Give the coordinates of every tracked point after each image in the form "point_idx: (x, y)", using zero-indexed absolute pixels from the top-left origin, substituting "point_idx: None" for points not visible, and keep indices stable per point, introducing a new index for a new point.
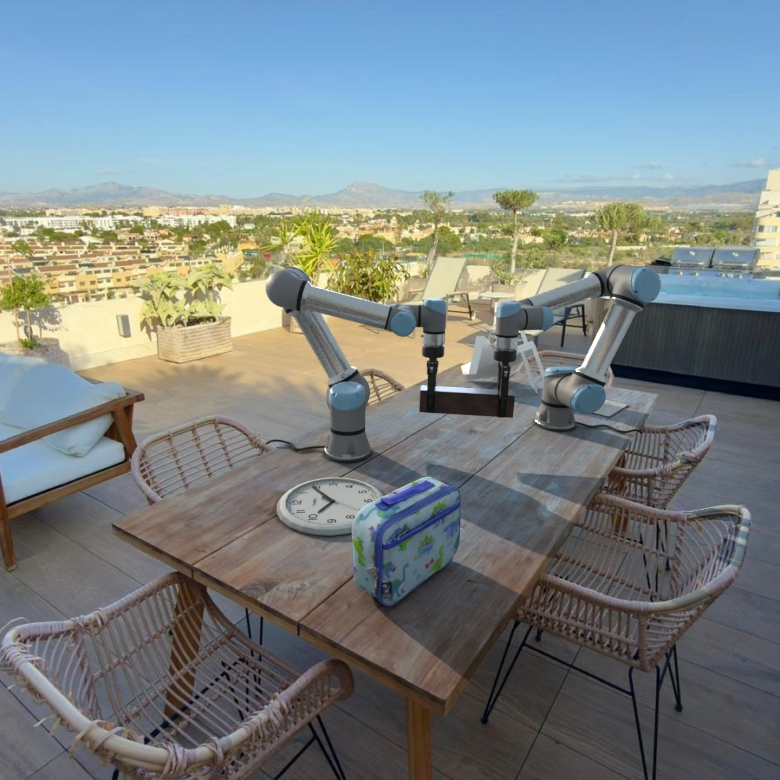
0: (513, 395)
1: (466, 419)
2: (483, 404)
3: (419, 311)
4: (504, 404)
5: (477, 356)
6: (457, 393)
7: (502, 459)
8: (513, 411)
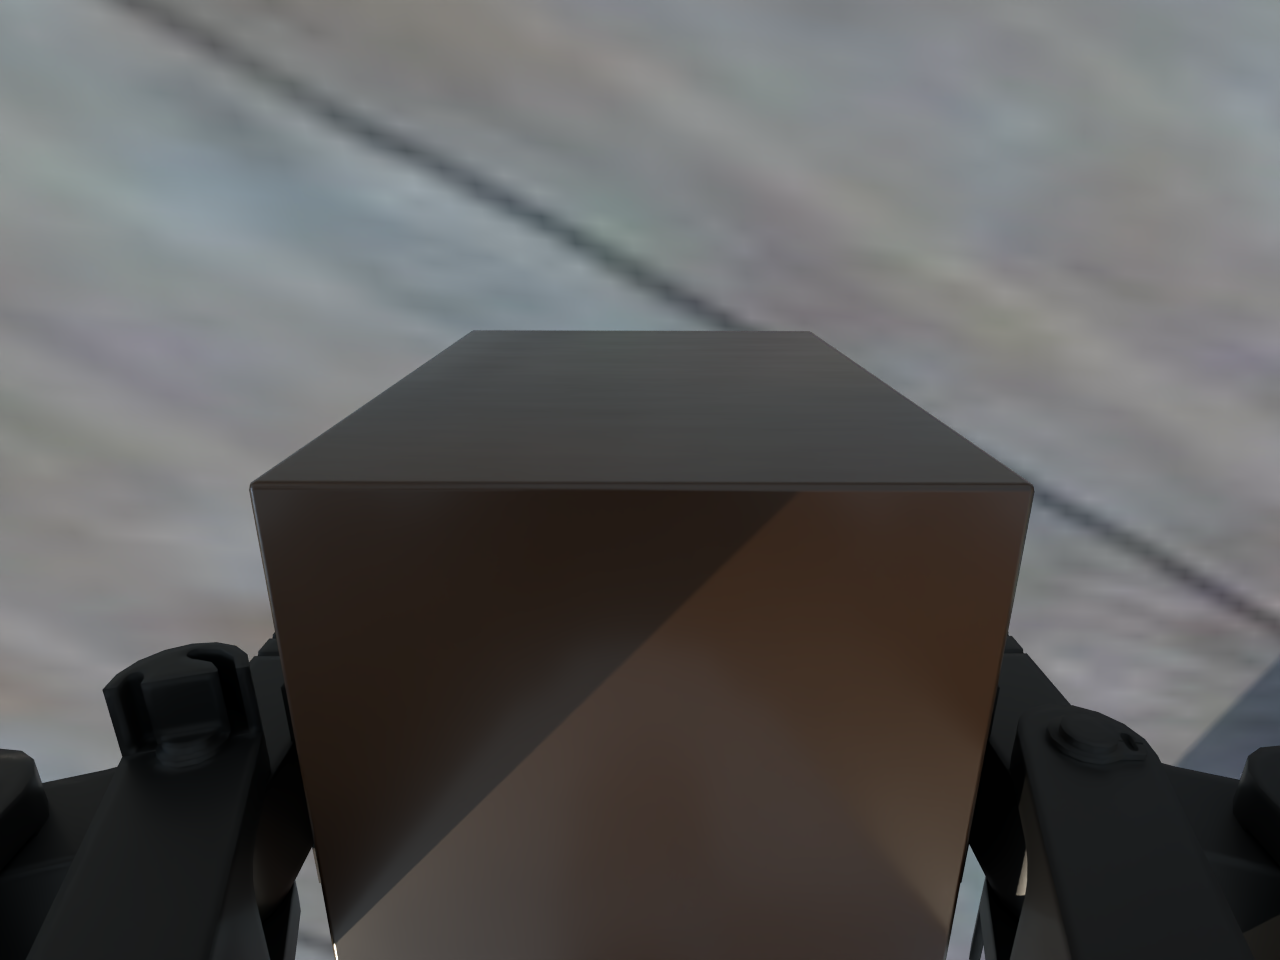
0: (1008, 551)
1: (15, 658)
2: None
3: None
4: (1030, 674)
5: None
6: None
7: (1004, 381)
8: (846, 356)
